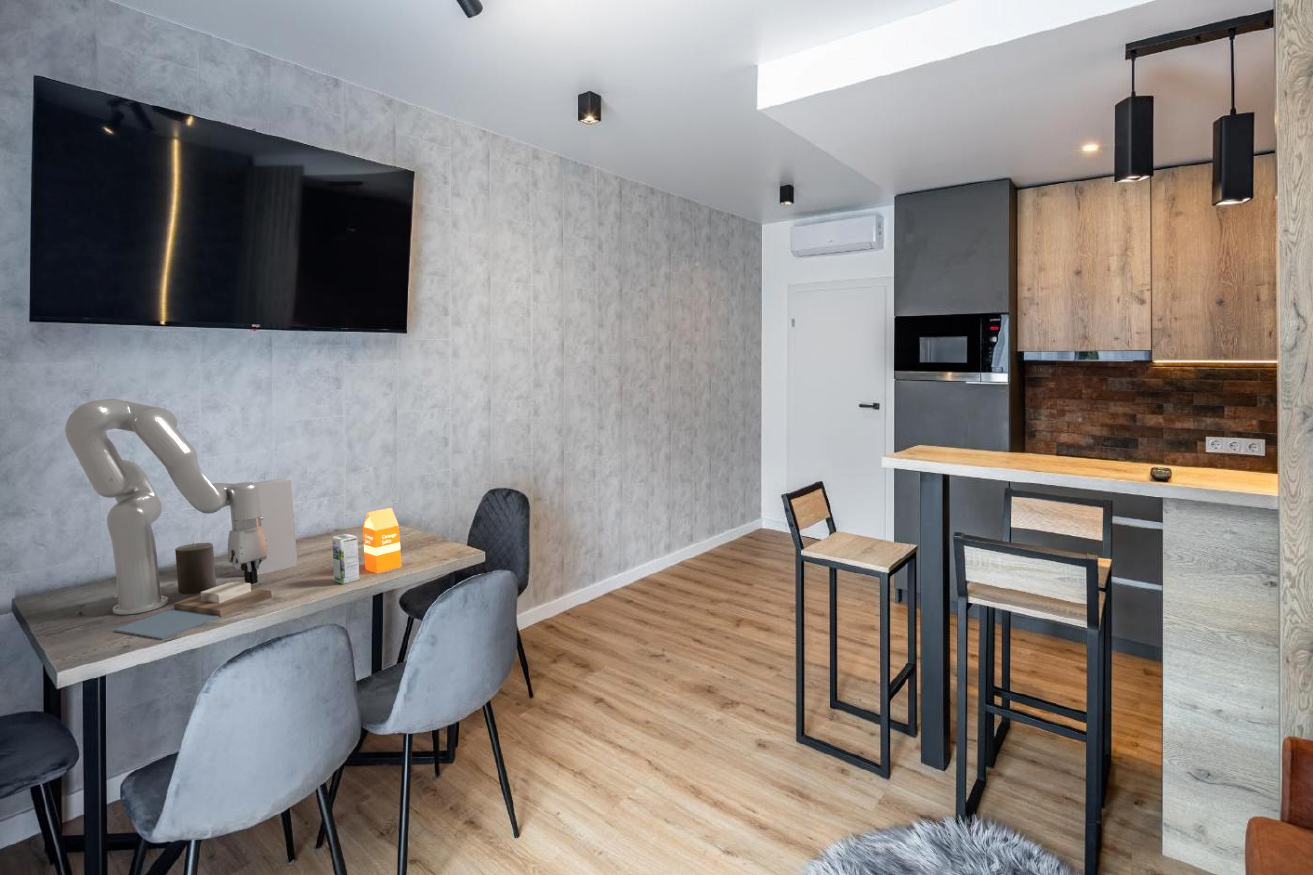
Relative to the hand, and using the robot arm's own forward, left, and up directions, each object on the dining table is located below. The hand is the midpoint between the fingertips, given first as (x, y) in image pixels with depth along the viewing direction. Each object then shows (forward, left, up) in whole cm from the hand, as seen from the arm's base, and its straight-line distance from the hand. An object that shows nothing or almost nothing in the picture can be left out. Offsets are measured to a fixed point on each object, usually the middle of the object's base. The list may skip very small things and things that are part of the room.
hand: (251, 582), depth 199 cm
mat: (0, -25, -3) cm, 25 cm away
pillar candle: (-20, -2, -4) cm, 20 cm away
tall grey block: (-15, +20, -4) cm, 25 cm away
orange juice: (+21, +32, -4) cm, 38 cm away
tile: (0, -8, -1) cm, 8 cm away
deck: (0, -9, -3) cm, 10 cm away
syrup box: (+19, +18, -4) cm, 26 cm away
